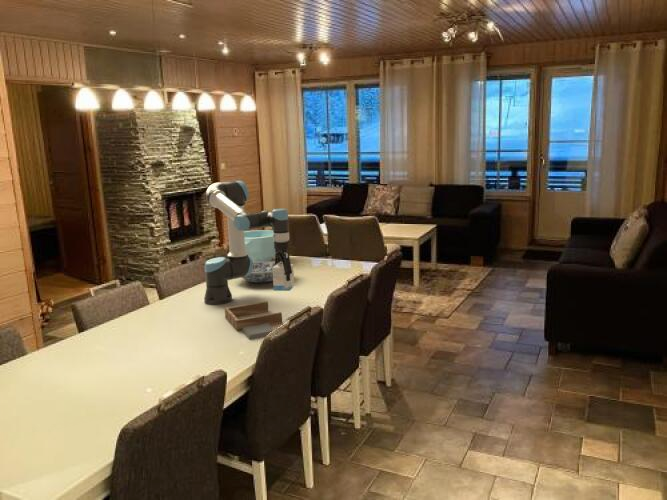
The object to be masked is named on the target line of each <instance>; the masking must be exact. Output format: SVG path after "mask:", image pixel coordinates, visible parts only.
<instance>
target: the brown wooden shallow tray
mask: <svg viewBox="0 0 667 500" xmlns="http://www.w3.org/2000/svg"><path fill="white" fill-rule="evenodd" d="M266 312H269V301H267V300H266V301H260V302H255V303H250V304H249V303H247V304H242V305H236V306H231V307H224V315H225V316H224V317H225V319H226V320H227V321H228V323H229V324H230V325H231V326H232V327H233V329H234V330H235V331H236V332H241V331H242V327H247V326H252V325H258V324H264V323H268V324H269V325H270V326H275V325H281V324H283V313H282V312H281V311H280V312H275V313H270V314H269V313H268V314H263V315H257V316H251V317H245V318H238V317H244V316H249V315H255V314H261V313H266Z"/></svg>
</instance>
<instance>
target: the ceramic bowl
mask: <svg viewBox="0 0 667 500" xmlns="http://www.w3.org/2000/svg"><path fill="white" fill-rule="evenodd" d="M274 266H275V260H274V261H272V260H271V261H260V262H253V270H252V272H251V274H250V275H249V276H246V277H243V278H242V279H244V280H245V281H248V282H251V283H268V282H273V267H274Z"/></svg>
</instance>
